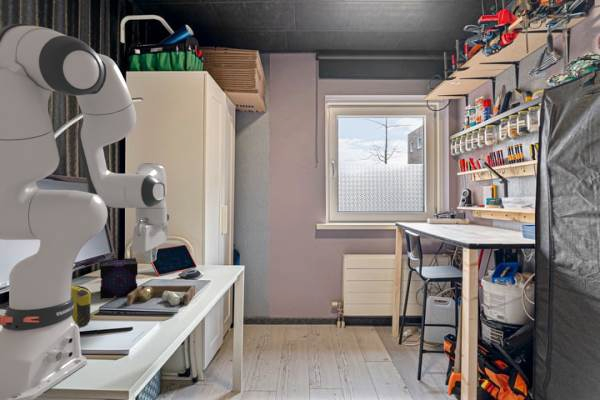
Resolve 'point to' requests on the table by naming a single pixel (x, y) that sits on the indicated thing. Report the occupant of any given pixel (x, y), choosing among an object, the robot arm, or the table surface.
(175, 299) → the pipe fitting
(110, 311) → the table surface
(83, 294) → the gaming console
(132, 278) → the energy cube
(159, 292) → the corral
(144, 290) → the brass bushing
